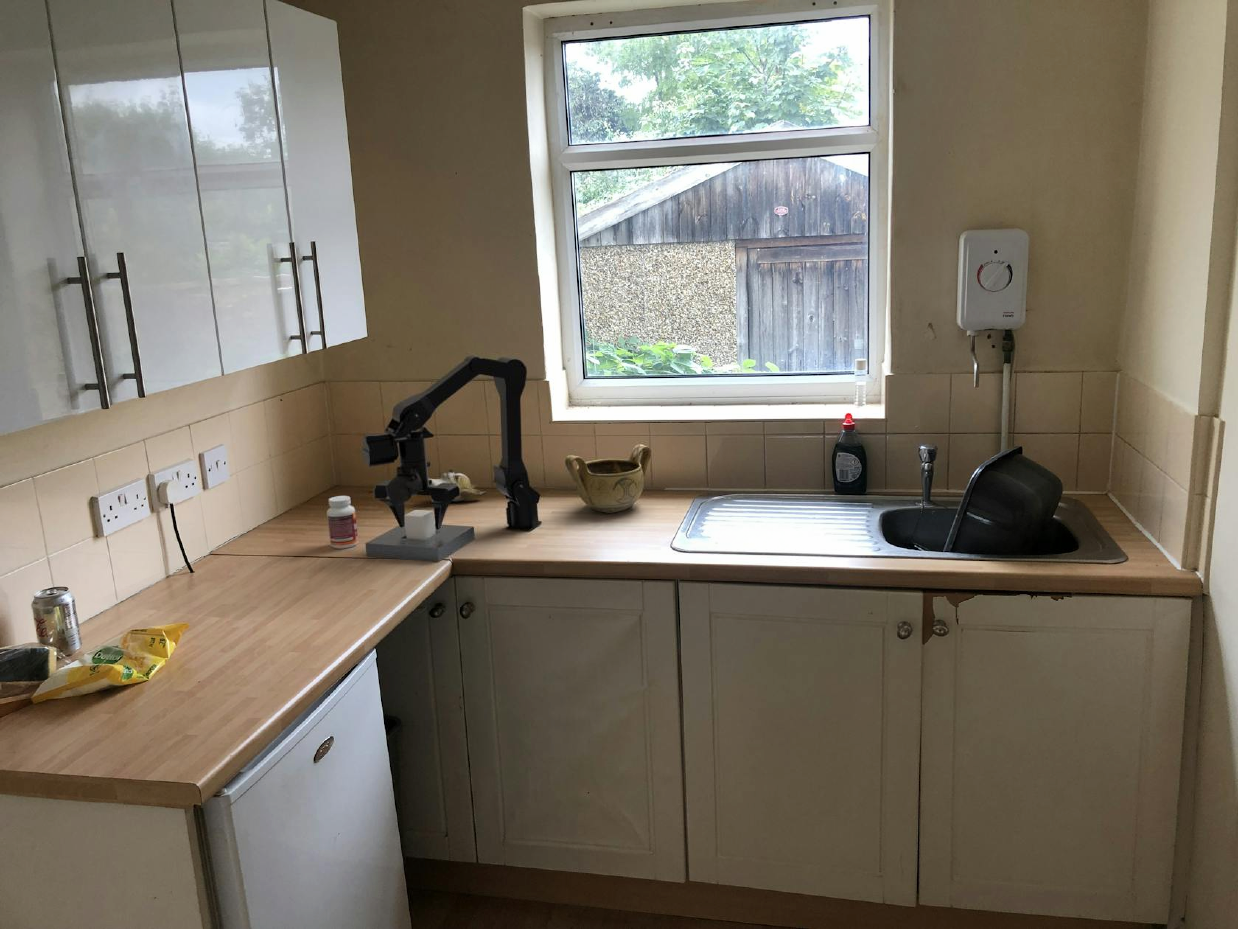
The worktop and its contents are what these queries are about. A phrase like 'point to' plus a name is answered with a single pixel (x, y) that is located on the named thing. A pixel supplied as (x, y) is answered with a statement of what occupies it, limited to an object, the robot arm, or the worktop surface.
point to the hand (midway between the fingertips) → (420, 528)
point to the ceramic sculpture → (459, 485)
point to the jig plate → (420, 543)
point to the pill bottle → (342, 523)
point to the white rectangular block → (419, 524)
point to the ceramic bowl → (610, 480)
